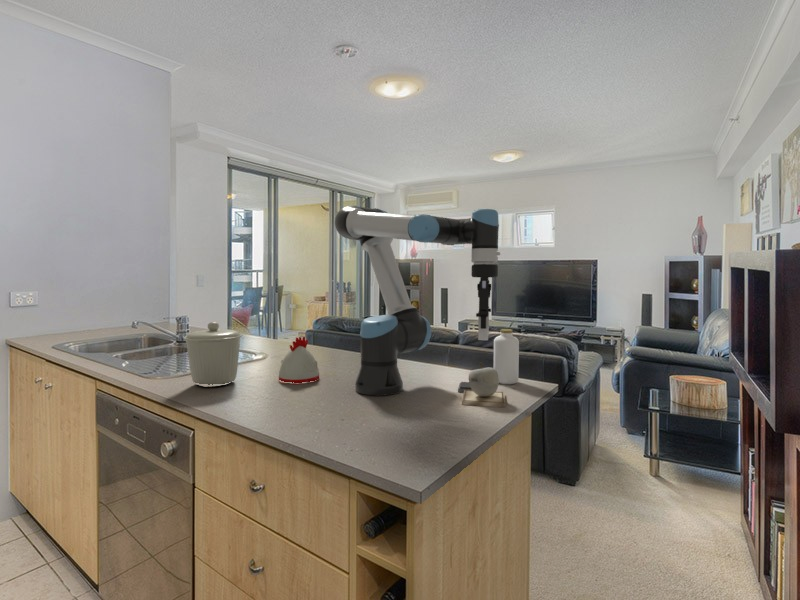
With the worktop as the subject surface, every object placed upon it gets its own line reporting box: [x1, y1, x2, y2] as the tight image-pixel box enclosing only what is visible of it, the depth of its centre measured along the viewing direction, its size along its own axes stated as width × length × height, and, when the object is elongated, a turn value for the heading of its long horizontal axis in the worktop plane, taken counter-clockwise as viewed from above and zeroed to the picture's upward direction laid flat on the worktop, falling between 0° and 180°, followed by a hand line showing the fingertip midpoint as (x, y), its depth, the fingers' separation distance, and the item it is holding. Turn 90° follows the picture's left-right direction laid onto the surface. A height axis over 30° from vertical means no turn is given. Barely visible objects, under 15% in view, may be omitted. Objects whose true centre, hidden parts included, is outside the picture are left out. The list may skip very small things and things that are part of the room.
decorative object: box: [468, 361, 499, 397], centre depth 132 cm, size 9×9×10 cm
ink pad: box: [457, 381, 472, 393], centre depth 143 cm, size 10×8×2 cm
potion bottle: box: [493, 328, 520, 385], centre depth 152 cm, size 8×8×18 cm
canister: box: [183, 321, 243, 385], centre depth 150 cm, size 18×18×21 cm
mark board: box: [461, 390, 506, 408], centre depth 132 cm, size 12×12×1 cm
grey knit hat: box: [278, 336, 320, 383], centre depth 157 cm, size 14×14×15 cm
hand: (483, 336), depth 131 cm, fingers open, 13 cm apart
